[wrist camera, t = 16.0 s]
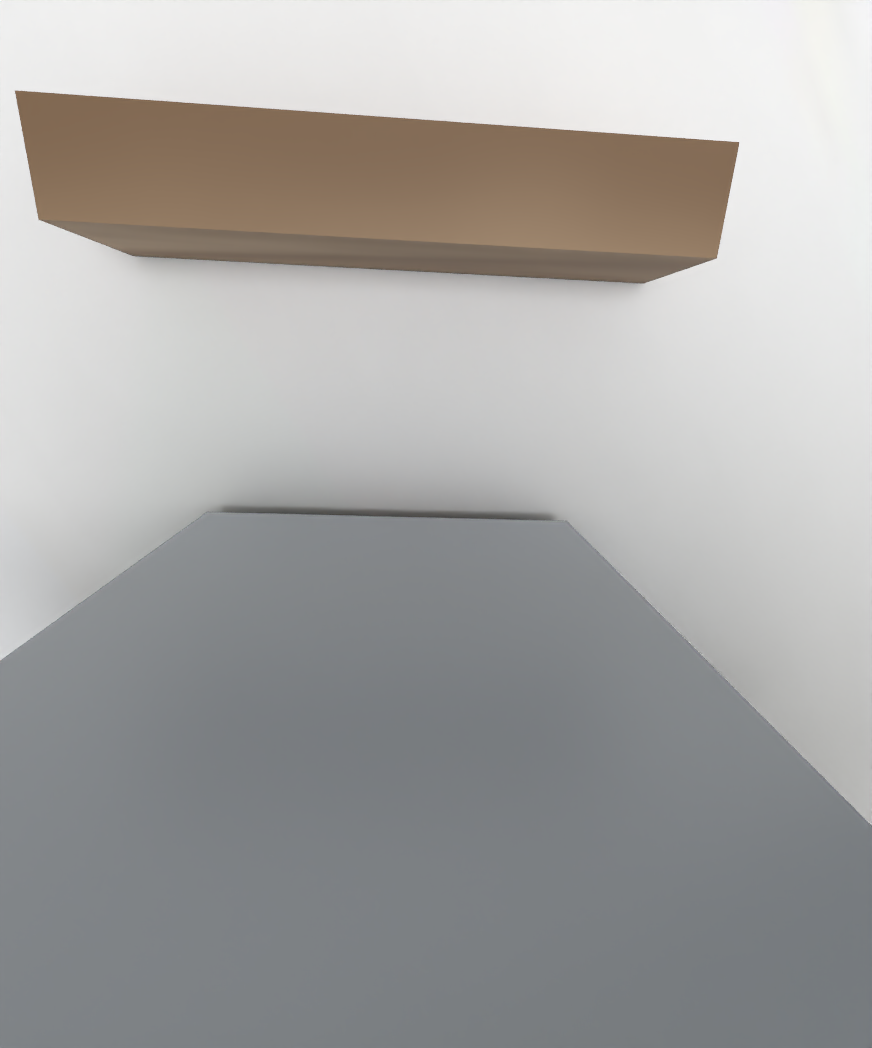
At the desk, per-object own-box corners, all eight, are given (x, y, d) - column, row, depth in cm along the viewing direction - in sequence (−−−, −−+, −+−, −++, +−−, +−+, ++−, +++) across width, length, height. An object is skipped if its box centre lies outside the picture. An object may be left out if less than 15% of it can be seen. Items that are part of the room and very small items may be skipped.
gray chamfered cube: (531, 795, 13) (743, 1550, 5) (237, 797, 13) (-100, 1636, 4) (566, 521, 11) (1107, 1061, 2) (206, 512, 10) (-663, 1137, 2)
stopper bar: (644, 283, 10) (717, 258, 8) (133, 256, 9) (38, 219, 7) (656, 197, 9) (738, 143, 7) (121, 163, 9) (14, 90, 7)
